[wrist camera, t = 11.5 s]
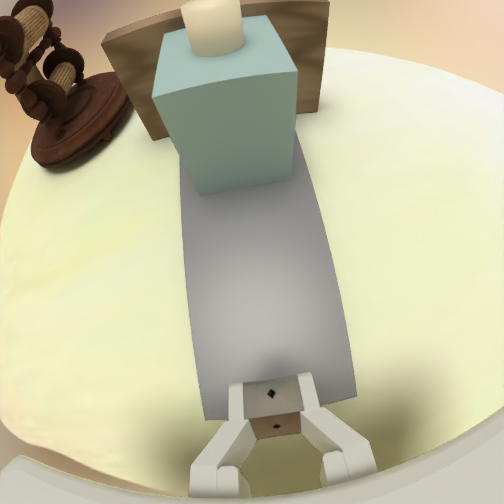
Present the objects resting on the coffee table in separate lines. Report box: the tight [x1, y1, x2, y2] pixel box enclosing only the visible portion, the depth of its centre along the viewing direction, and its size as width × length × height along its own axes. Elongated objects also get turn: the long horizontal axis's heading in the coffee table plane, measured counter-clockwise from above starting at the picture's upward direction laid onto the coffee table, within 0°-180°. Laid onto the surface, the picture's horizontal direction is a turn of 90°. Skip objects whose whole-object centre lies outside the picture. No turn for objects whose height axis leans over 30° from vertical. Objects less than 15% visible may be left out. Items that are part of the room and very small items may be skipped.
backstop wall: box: [101, 0, 330, 141], centre depth 18 cm, size 16×2×12 cm, turn 99°
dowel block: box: [152, 0, 298, 196], centre depth 15 cm, size 7×8×13 cm
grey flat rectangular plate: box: [180, 131, 357, 420], centre depth 20 cm, size 10×24×1 cm, turn 9°
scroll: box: [0, 0, 131, 168], centre depth 17 cm, size 15×15×20 cm
